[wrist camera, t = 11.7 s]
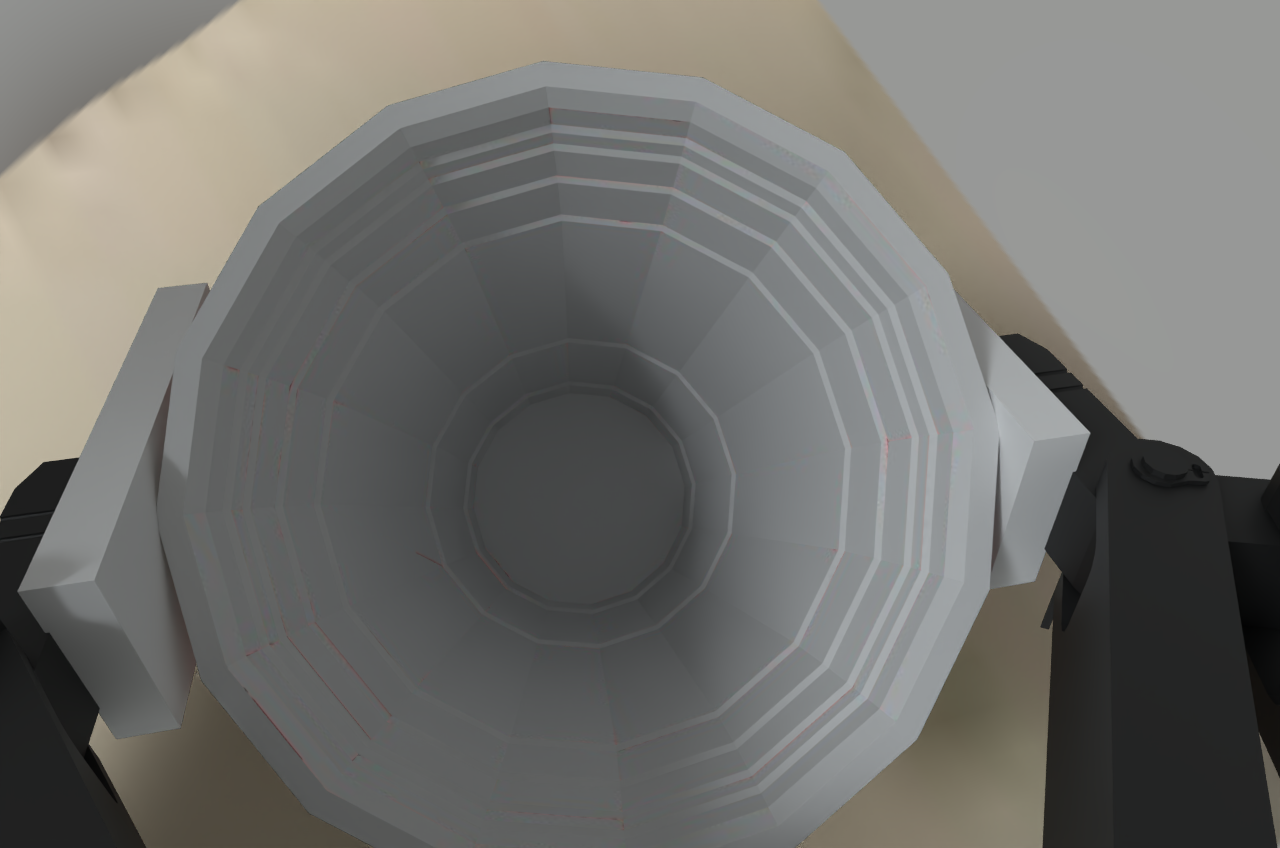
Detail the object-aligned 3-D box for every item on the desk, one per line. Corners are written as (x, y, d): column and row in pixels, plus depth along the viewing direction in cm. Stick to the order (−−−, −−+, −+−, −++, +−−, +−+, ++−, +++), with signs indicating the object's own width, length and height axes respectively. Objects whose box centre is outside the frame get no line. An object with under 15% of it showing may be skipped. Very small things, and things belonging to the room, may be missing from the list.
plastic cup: (265, 537, 22) (-77, 537, 10) (544, 217, 24) (525, -103, 12) (607, 814, 22) (657, 1139, 10) (863, 473, 24) (1166, 408, 12)
